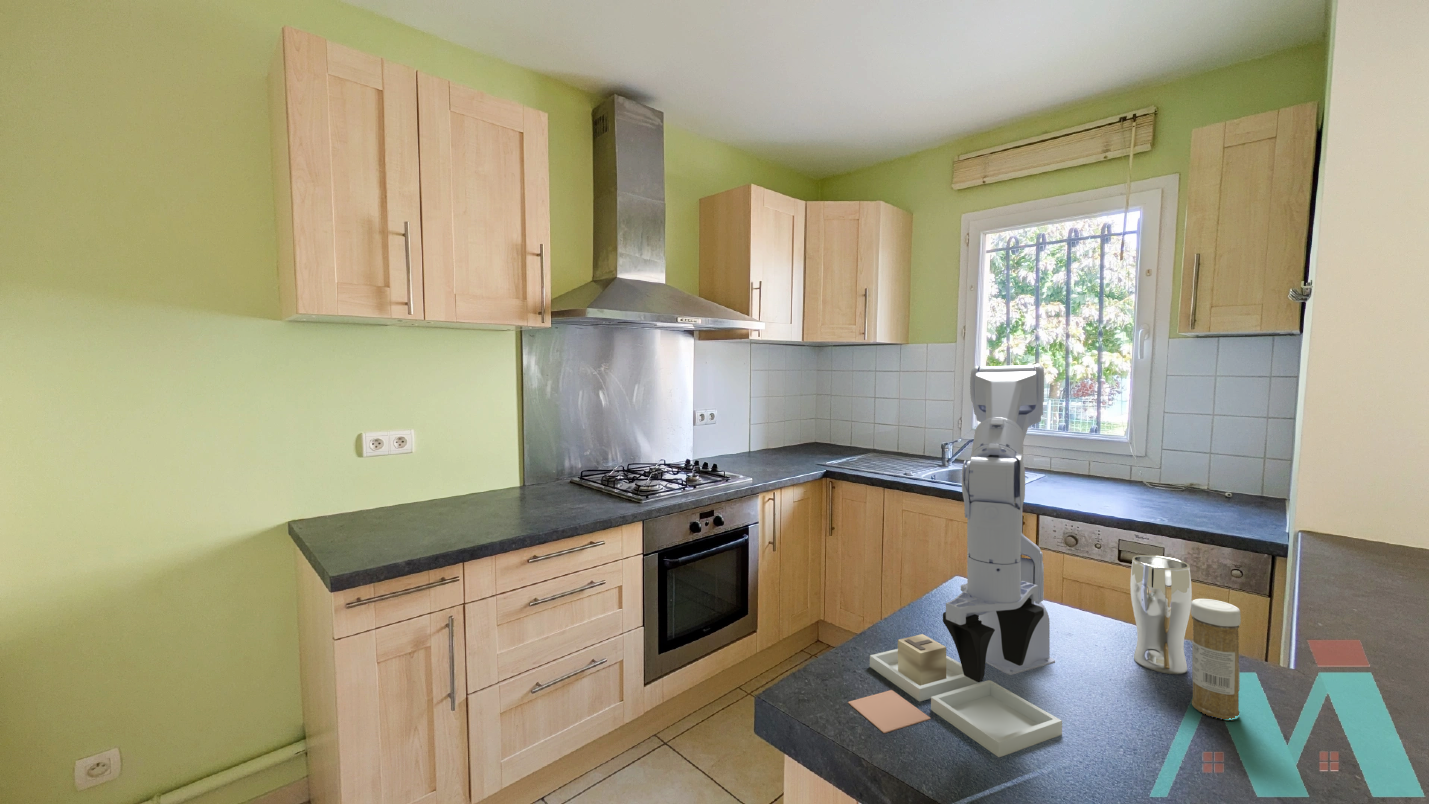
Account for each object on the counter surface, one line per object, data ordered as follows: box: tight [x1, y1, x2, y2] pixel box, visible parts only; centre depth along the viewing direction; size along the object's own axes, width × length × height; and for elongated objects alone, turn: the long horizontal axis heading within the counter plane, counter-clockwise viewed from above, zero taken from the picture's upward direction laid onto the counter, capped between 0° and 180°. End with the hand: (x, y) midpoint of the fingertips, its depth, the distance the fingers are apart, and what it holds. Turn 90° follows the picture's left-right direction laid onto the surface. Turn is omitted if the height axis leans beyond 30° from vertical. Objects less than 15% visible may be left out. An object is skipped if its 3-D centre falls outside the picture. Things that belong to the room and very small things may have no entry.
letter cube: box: [897, 633, 947, 686], centre depth 79 cm, size 4×4×5 cm
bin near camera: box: [930, 679, 1063, 758], centre depth 68 cm, size 10×10×2 cm
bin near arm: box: [869, 648, 979, 702], centre depth 79 cm, size 10×10×2 cm
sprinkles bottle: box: [1190, 598, 1242, 720], centre depth 70 cm, size 5×5×14 cm
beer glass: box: [1129, 554, 1193, 675], centre depth 82 cm, size 7×7×15 cm
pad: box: [847, 689, 932, 734], centre depth 71 cm, size 7×7×1 cm
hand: (993, 669), depth 68 cm, fingers open, 7 cm apart
